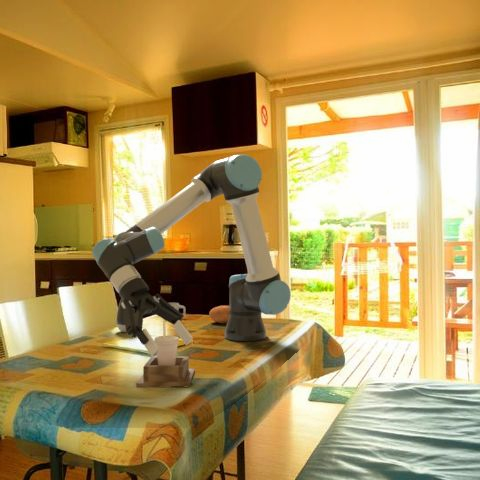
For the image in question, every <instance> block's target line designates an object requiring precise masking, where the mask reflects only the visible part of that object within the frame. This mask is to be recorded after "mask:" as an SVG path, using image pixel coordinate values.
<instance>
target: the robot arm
mask: <svg viewBox="0 0 480 480" xmlns="http://www.w3.org/2000/svg"><path fill="white" fill-rule="evenodd" d="M262 178H263V171H262V168H261V166H260V164H259V162H258V160H256V159H255V158H254V157H252V156H250V155H248V154H233V155H231V156H228V157H225V158H221V159H217V160H215V161H214V162H212V163H211V164H209V165H208V166H207V167H205V168H204V169H203V170H201V171H200V172H199V173H198V174H197V175H195V176H193V178H191V180H190V184H188V185H187V186H185V187H184V188H183V189H182V190H180V191H179V192H177V193H175V194H174V196H172V197H171V198H169V199H168V200H166V201H165V202H164V203H163V204H161V205H160V206H158V207H157V208H156V209H155V210H153V211H151V212H150V213H149V214H148V215H146V216H145V217H143V218H142V219H140V220H139V221H138V222H136V224H134V225H133V226H131V227H130V228H128V229H127V230H126V231H123V232H122V231H121V232H120V233H118V234H117V235H116V236H115V237H114V238H112V237H108V238H103V239H101V240H99V241H98V242H96V244H94V246H93V248H92V250H91V254H92V257H93V258H94V260H95V261H96V264H97V266H98V267H99V268H100V269H101V270H102V272H103V273H104V275H105V276H106V278H107V279H108V280H109V282H110V283H111V284H112V286H113V287H114V289H115V291H116V292H117V293H118V295H119V297H120V299H122V300H123V302H122V303H121V304H120V303H119V304H120V308H121V310H122V312H123V316H124V322H125V327H126V332H127V333H126V335H128V336H131V337H132V338H136V337H137V339H138V340H139V342H140V344H141V345H143V346H144V347H145V349H146V350H147V352H148V353H149V354H150V356H151V357H152V356H156V355H157V352H158V351H159V347H158V346H157V344H156V343H155V341H154V339H153V337H152V335H151V334H150V332H148V331H149V330H148V329H146V328H143V322H144V315H147V314H151V315H156V316H158V317H159V318H162V319H163V320H165V322H168V323H170V324H172V328H173V329H174V331H175V332H176V333H177V335H178V337H180V338H179V339H181V341H182V342H183V344H184V345H185V346H188V345H189V344H190V343H191V342H192V340H193V339H194V337H193V336H192V335H191V334H190V332H189V331H188V329H187V327H186V326H185V324H184V323H183V322H182V320H183V318H184V317H185V316H184V315H183V313H181V312H180V310H179V311H178V310H176V309H175V308H174V307H173V306H171V305H170V304H169V303H170V302H167V300H165V299H164V298H163V297H162V296H161V294H160V293H156V294H155V295H154V296H153V295H151V293H150V292H149V291H150V288H149V285H148V284H147V283H146V282H145V280H144V279H143V278H142V276H141V274H140V273H139V272H138V270H137V269H136V268H135V266H134V265H135V264H136V263H138V262H140V261H142V260H143V261H144V260H145V259H147V258H149V257H151V256H153V255H156V254H157V253H158V252H161V251H162V250H163V249H164V248H165V240H164V237H163V235H162V234H164V233H165V232H167V231H168V230H169V229H171V227H172V226H174V225H175V224H177V223H178V222H180V220H182V219H183V218H184V217H186V216H187V215H188V214H190V213H191V212H192V211H193V210H196V208H197V207H198V208H199V206H200V205H202V204H203V203H205V202H206V203H209V202H210V201H212V200H213V199H214V198H216V197H219V196H221V195H223V197H224V200H225V202H226V203H227V204H229V205H231V210H232V214H233V217H234V221H235V225H236V229H237V233H238V238H239V241H240V245H241V249H242V253H243V257H244V261H245V265H246V269H247V272H248V273H244V274H243V273H242V274H241V273H240V274H234V275H231V276H230V277H229V282H228V283H229V284H228V288H229V291H228V293H229V301H228V302H229V304H228V306H229V310H230V315H229V319H228V323H226V327H225V329H224V338H225V339H227V340H229V341H234V342H254V341H262V340H265V339H266V338H267V330H266V327H265V322H264V320H263V316H262V314H264V315H271V316H272V315H273V316H274V315H279V314H281V313H282V312H284V311H285V310H286V309H287V308H288V304H289V303H290V301H291V288H290V286H289V285H288V284H287V283H286V282H285V281H284V280H282V279H281V275H280V271H279V269H277V268H275V267H274V266H273V261H272V257H271V252H270V248H269V244H268V241H267V237H266V232H265V228H264V225H263V221H262V216H261V211H260V208H259V204H258V201H257V200H258V199H257V198H258V196H259V194H260V189H259V185H260V184H261V181H262ZM132 309H134V315H133V311H132Z"/></svg>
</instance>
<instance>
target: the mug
mask: <svg viewBox="0 0 480 480" xmlns="http://www.w3.org/2000/svg"><path fill="white" fill-rule="evenodd" d="M168 303H169V304H170V305H171V306H173V307H174V308H175V309H176V310H178V311H179V312H180V310H179V309H183V313H182V314H183V315H184V317H185V316H186V310H187V309H186V306H184V305H181V304H180V303H179V302H168Z"/></svg>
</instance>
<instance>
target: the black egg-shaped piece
mask: <svg viewBox="0 0 480 480" xmlns="http://www.w3.org/2000/svg"><path fill="white" fill-rule="evenodd" d="M122 302H123V300H122V298H120V301H119V304H118V308H117V311H116V319H115V323H116V325H117V328H118V330H119V331H120V332H121V333H124V334H125V333H126V334H127V332H126V327H125V322H124V316H123V312H122V310H121V308H120V304H121V303H122ZM132 311H133V315H134V309H132Z"/></svg>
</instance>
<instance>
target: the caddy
mask: <svg viewBox="0 0 480 480" xmlns="http://www.w3.org/2000/svg"><path fill="white" fill-rule="evenodd" d="M189 359H190V358H189V356H176V363H175V366H159V365H158V358H157V355H154V356H151V357H150V358H149V359H148V360H147V362H146V363H145V364H144V365H143V373H142V375H141V376H140V378H139V379H138V380H137V382H136V383H135V387H137V388H142V387H143V388H146V387H147V388H148V387H149V388H151V387H152V388H160V387H161V388H167V387H168V388H172V387H171V386H189V387H190V385H189V384H191V382H192V380H193V377H194V374H195V372H196V369H195V368H190V367H189V362H190V361H189Z"/></svg>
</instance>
